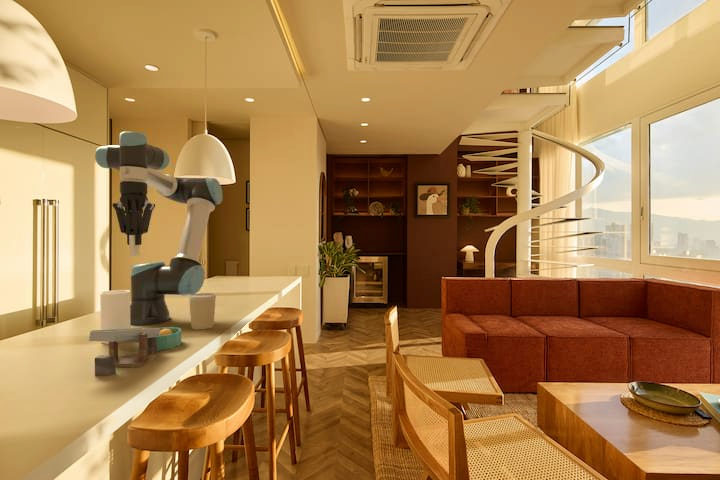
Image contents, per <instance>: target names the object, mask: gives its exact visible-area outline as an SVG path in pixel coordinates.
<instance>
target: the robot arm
mask: <svg viewBox="0 0 720 480" xmlns="http://www.w3.org/2000/svg"><path fill="white" fill-rule="evenodd" d="M94 156H95V157H94V158H95V161H96V163H97V165H98V166H99V167H100V168H104V169H108V170H109V169H110V170H111V169H113V170H114V169H115V170H117V171H119V179H120V180H121V181H120V182H119V192H120V198H119V201H118V202H114V203H112V207H113V209H114V210H115V213H116V217H117V222H118V226H119V230H120V233H122V234H125V235H126V239H127V241H126V244H127V245H128V247H129V248H128V249H129V250H128V251H129V254H128V255H129V257H130V256H133V257H135V256H140V246H141V245H142V241H143V240H142V239H143V238H142V235H143V234H147V233H148V232H149V229H150V228H149V227H150V223H151V219H152V215H153V210H154V209H155V207H156V204H155V203H151V201H149V198H148V196H147V195H148V187H150V188H152V189H153V190H155V191H156V193H157V194H159V195H160V196H162V197H164V198H166V199H168V200H171V201H172V202H176V203H180V204H187V206H188V210H187V215H186V219H185V221H184V225H183V229H182V233H181V236H180V241H179V244H178V247H177V251H176V255H175V256H174V257H172V258H171V259H170V262H169V265H166V263H165V262H164V261H156V262H155V261H154V262H148V263H147V262H146V263H140V264H134V265H133V266H132V267H131V272H130V325H134V326H137V325H139V326H142V325H143V326H144V325H153V324H159V323H163V322H167V321H168V320H169V319H170V314H171V313H170V311H169V309H168V308H169V307H168V305H167V303H166V300H165V299H166V296H168V295H171V296H173V295H174V296H190V295H193V294H198V293H199V292H200V290H201V289H202V287H203V285H204V282H205V278H206V277H205V274H206V273H205V269H204V267H202V263H201V262H200V261H199V259H200V255H201V252H202V248H203V243H204V239H205V234H206V231H207V227H208V222H209V218H210V214H211V213H212V212H213V211H215V208H216V205H220V204H221V203H222V202H223V189H222V185H221V183H220V181H219V180H218V179H216V178H213V177H177V176H176V177H175V176H173V175H172V174H165V173H164V172H162V170H164V169H167V167H168V166H169V164H170V155H169V154H168V153H167V151H165V150H164V149H162V148H160V147H159V146H153V145H151V144H149V143H148V137H147V135H146V134H145V133H142V132H138V131H130V130H129V131H127V130H125V131H122V132H120V133H119V141H118V145H105V146H99V147H98V148H97V149H96V150H95V155H94ZM165 295H166V296H165Z"/></svg>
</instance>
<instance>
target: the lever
mask: <svg viewBox="0 0 720 480" xmlns="http://www.w3.org/2000/svg"><path fill="white" fill-rule="evenodd" d="M160 328H161V327H156V328H155V327H154V328H153V327H152V328H143V327H130V328H125V329H106V330H101V329H94V330H93V329H92V330H90V331H89V338H88V342H101V341H105V342H114V341H115V342H120V343H125V344H126V343H129V344H130V343H131V344H133V343H135V344H139V334H141V333H147V338H153V337H157V335H158V334H160Z"/></svg>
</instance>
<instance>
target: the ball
mask: <svg viewBox="0 0 720 480" xmlns="http://www.w3.org/2000/svg"><path fill="white" fill-rule="evenodd" d="M169 334H172V331H171V330H170V329H163V330H161V331H160V334H159V335H158V336H162V335H169Z"/></svg>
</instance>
